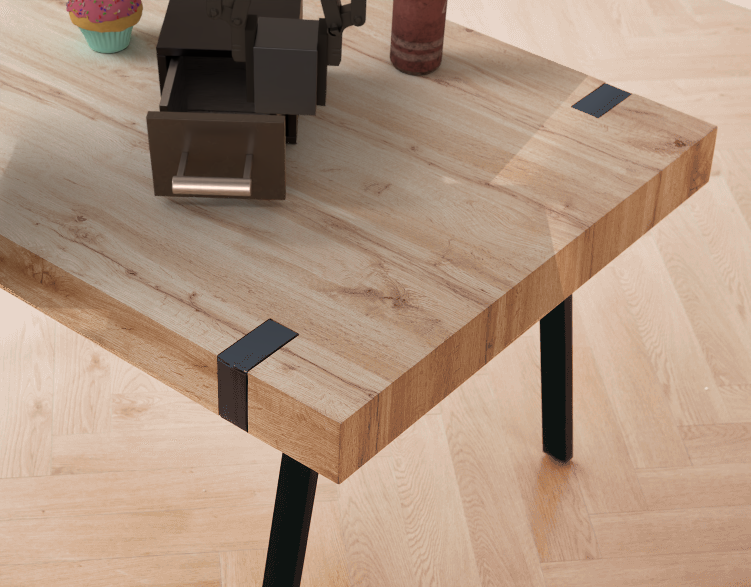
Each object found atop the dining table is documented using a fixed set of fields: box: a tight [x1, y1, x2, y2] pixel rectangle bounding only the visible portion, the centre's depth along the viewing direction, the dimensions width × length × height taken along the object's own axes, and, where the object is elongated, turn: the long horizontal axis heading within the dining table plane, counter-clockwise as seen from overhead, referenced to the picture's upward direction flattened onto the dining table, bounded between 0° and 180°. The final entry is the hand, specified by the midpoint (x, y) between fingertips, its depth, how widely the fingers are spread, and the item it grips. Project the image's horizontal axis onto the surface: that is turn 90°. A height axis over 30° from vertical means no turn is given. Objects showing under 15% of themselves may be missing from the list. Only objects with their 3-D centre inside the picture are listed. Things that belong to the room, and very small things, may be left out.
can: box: [389, 0, 448, 76], centre depth 122 cm, size 6×6×14 cm
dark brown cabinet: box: [155, 0, 304, 145], centre depth 115 cm, size 16×14×11 cm
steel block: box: [253, 17, 319, 117], centre depth 88 cm, size 5×5×6 cm
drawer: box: [145, 56, 287, 201], centre depth 104 cm, size 20×13×9 cm, turn 1°
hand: (287, 95), depth 89 cm, fingers closed on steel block, 5 cm apart
